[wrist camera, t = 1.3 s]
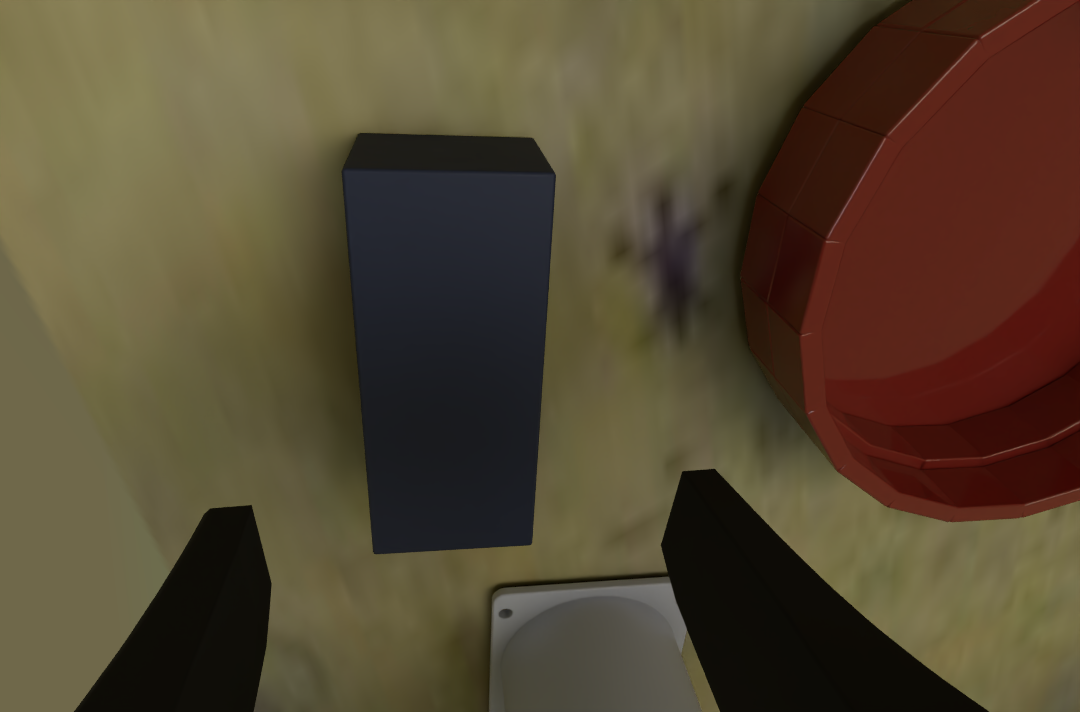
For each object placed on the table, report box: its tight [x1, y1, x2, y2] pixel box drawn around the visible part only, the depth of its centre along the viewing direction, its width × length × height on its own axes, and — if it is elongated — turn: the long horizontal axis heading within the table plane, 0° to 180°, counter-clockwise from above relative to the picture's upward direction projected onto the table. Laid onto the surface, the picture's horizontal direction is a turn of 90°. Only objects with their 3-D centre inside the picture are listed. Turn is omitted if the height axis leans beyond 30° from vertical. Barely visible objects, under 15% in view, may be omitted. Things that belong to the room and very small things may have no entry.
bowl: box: [740, 0, 1080, 522], centre depth 20 cm, size 16×16×4 cm
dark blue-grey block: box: [342, 133, 556, 554], centre depth 19 cm, size 11×5×4 cm, turn 177°
